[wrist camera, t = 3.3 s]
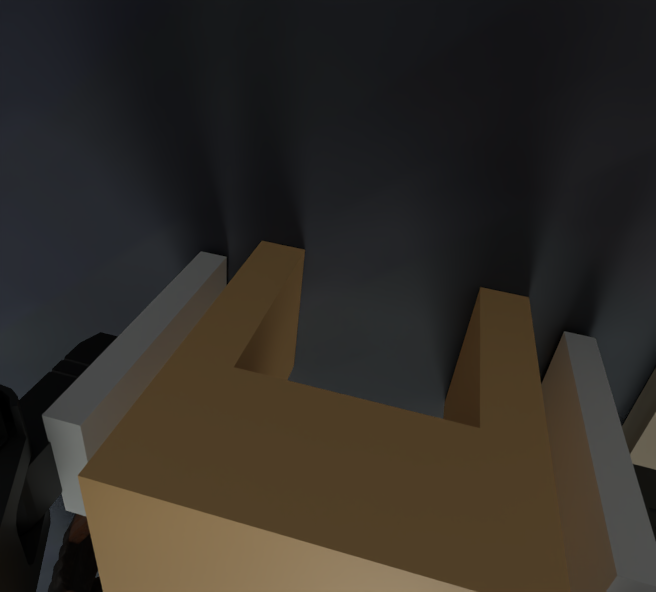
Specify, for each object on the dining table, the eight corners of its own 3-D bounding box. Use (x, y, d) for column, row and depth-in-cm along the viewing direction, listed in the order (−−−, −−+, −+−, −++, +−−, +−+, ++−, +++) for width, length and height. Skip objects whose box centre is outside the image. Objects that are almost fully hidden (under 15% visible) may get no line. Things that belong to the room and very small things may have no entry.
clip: (256, 356, 17) (108, 616, 10) (262, 240, 14) (77, 475, 8) (486, 412, 16) (490, 741, 9) (528, 297, 14) (574, 620, 7)
